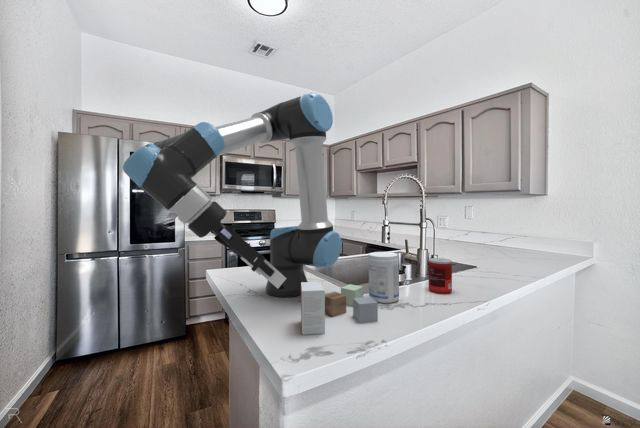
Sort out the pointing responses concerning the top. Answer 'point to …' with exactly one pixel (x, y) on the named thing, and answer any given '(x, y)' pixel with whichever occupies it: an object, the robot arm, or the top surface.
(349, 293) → the sage green block
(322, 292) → the small box
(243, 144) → the robot arm
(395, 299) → the supplement tub
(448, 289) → the canned food
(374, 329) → the top surface
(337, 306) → the walnut block
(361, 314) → the slate grey block
